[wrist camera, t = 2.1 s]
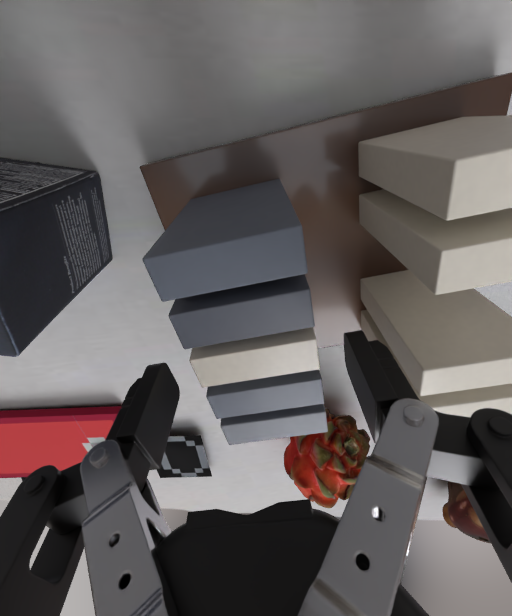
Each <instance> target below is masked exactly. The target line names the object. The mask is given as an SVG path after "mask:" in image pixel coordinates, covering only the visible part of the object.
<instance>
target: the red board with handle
mask: <svg viewBox="0 0 512 616" xmlns="http://www.w3.org/2000/svg"><path fill="white" fill-rule="evenodd" d="M120 409H121V406H112V407H85V408H59V409H32V410H6V411H0V478H16V477H21V478H22V481H24V480H25V479H26V478H27V477H28V476H29V475H30V474H31V473H32V472H34V471H35V470H37V469H39V468H41V467H43V466H46V465H53V466H55V467H56V468H57V469H58V470H59V471H62V470H64V469H66V468H69V467H71V466H73V465H75V464H78V463H80V462H82V460H83V458H84V457H85V455H86V454H87V453H88V451H89V450H90V449H92V448H93V447H94V446H95V445H97V444H98V443H100V442H102V441H105V439H106V437H107V435H108V433H109V431H110V429H111V427H112V425H113V423H114V420H115V418H116V416H117V414H118V412H119V410H120ZM157 471H158V474H159V476H160V478H168V477H205V476H212V475H211V471H210V468H209V464H208V460H207V457H206V453H205V449H204V446H203V442H202V438H201V435H199V436H169V438H168V441H167V445H166V448H165V452H164V456H163V459H162V463H161V467H160V469H157Z"/></svg>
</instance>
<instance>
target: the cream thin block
mask: <svg viewBox="0 0 512 616" xmlns="http://www.w3.org/2000/svg"><path fill="white" fill-rule="evenodd" d="M189 361H190V363H191V365H192V367H193V369H194V371H195V374H196V376H197V378H198V380H199V382H200V384H201V386H202V387H209V386H216V385H222V384H229V383H235V382H241V381H248V380H254V379H260V378H267V377H273V376H279V375H286V374H292V373H299V372H305V371H311V370H318V369H320V363H319V355H318V347H317V339H316V336H315V332H314V329H313V327H311V328H305V329H299V330H293V331H288V332H282V333H276V334H270V335H265V336H259V337H253V338H247V339H242V340H236V341H230V342H224V343H219V344H213V345H207V346H201V347H196V348H193V349H192V352H191V356H190V360H189Z"/></svg>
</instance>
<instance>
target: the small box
mask: <svg viewBox="0 0 512 616" xmlns="http://www.w3.org/2000/svg"><path fill="white" fill-rule="evenodd" d="M111 260H112V253H111V245H110V239H109V232H108V225H107V219H106V213H105V206H104V200H103V193H102V187H101V180H100V176H99V174H98V173H97V172H96V171H88V170H82V169H76V168H69V167H63V166H55V165H48V164H41V163H33V162H26V161H19V160H12V159H5V158H0V355H2V356H12V357H16V356H19V355H20V353H21V352H22V351H23V350H24V349H25V348H26V347H27V346H28V345H29V344H30V343H31V342H32V341H33V340H34V339H35V338H36V337H37V336H38V335H39V334H40V333H41V332H42V330H43V329H44V328H45V327H46V326H47V325H48V324H49V323H50V322H51V321H52V320H53V319H54V318H55V317H56V316H57V315H58V314H59V313H60V312H61V311H62V310H63V309H64V308H65V307H66V306H67V305H68V304H69V303H70V302H71V301H72V300H73V299H74V298H75V297H76V296H77V295H78V294H79V293H80V292H81V290H82V289H83V288H84V287H85V286H86V285H87V284H88V283H89V282H90V281H91V280H92V279H93V278H94V277H95V276H96V275H97V274H98V273H99V272H100V271H101V270H102V269H103V268H104V267H105V266H106V265H107V264H108V263H109V262H110V261H111Z"/></svg>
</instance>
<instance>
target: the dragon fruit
mask: <svg viewBox="0 0 512 616" xmlns="http://www.w3.org/2000/svg"><path fill="white" fill-rule="evenodd" d="M325 411H326V418H327V426H328V432H324V433H316V434H308V435H301V436H293V437H290V440H291V442H290V444H289V445H288V446H287V448H286V451H285V453H284V466H285V470H286V472H287V474H288V475H289V477H290V478H291V479H292V480H294V483H295V485H296V486H297V487H298V489H299V490H300V491H301V492H302V494H303V495H304V496H305V497H306V498H308V499H310V501H312V502H314V501H315V502H316V503H317V504H318V505H320V506H323V507H325V508H332V507H333V506H334V505H335V504H336V502H337V500H338V498H340V499H342V500H346V499H348V498H349V497H350V495H351V493H352V490H353V488H354V485H355V483H356V480H357V478H358V476H359V473H360V471H361V468H362V466H363V464H364V461H365V460H366V458H367V457H366V456H367V454H368V452H369V448H370V445H369V440H370V437H369V436H368V434H367V432H366V431H365V430H364V429H362V430H358V429H357V426H356V420H355V419H354V418H353V417H351V416H350V415H348V416H337V417H335V416H334V415H332V414H329V410H328V409H325Z"/></svg>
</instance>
